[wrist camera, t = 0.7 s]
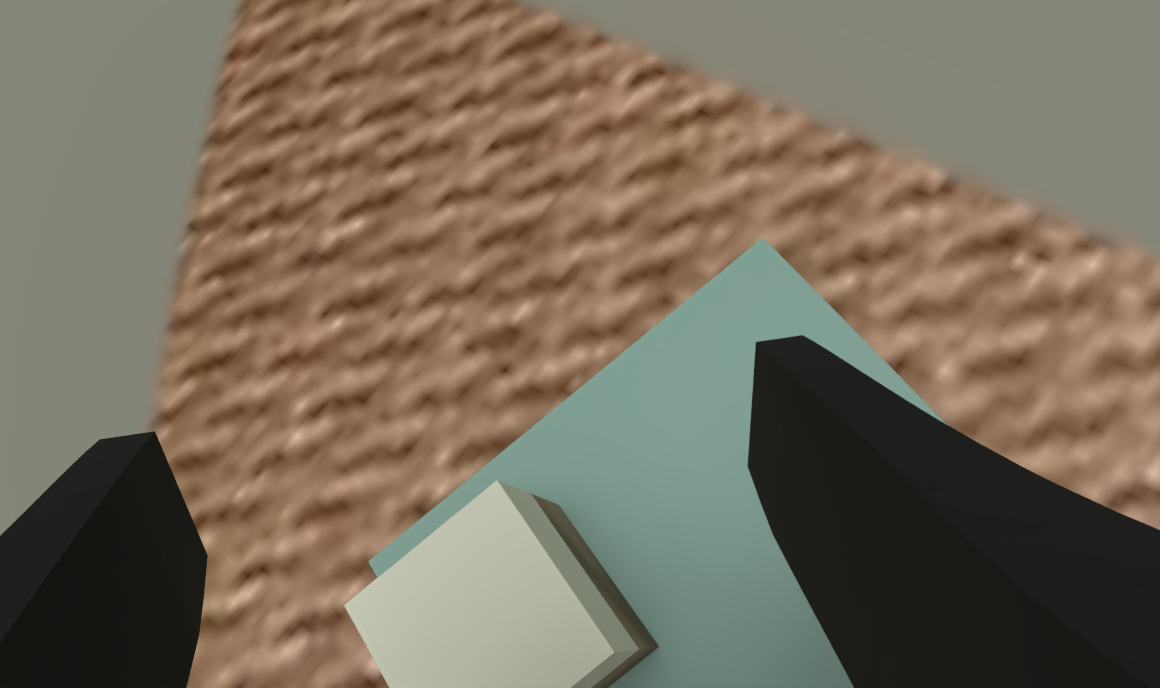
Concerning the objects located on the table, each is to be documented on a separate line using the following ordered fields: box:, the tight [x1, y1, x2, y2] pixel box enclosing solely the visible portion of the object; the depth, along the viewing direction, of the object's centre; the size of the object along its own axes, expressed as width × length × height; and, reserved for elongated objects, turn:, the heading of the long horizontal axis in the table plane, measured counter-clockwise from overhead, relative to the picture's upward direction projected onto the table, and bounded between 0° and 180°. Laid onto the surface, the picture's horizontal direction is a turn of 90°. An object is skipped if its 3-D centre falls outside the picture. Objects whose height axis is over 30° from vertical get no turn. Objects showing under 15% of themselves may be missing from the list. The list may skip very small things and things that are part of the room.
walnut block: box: [531, 494, 659, 688], centre depth 24 cm, size 5×5×2 cm
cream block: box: [344, 480, 639, 688], centre depth 22 cm, size 5×5×2 cm
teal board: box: [369, 238, 947, 688], centre depth 24 cm, size 16×16×1 cm
